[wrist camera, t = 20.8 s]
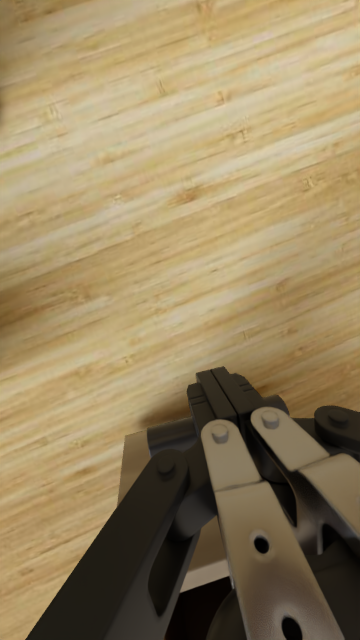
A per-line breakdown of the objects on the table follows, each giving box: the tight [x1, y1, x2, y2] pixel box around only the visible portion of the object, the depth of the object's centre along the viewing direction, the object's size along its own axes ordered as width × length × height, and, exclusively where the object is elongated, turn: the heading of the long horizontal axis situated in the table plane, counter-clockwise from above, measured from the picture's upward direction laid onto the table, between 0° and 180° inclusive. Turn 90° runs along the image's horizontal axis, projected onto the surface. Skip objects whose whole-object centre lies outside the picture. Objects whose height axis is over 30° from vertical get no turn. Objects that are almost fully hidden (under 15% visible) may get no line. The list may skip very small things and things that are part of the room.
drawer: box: [117, 395, 290, 640], centre depth 15 cm, size 20×12×9 cm, turn 10°
